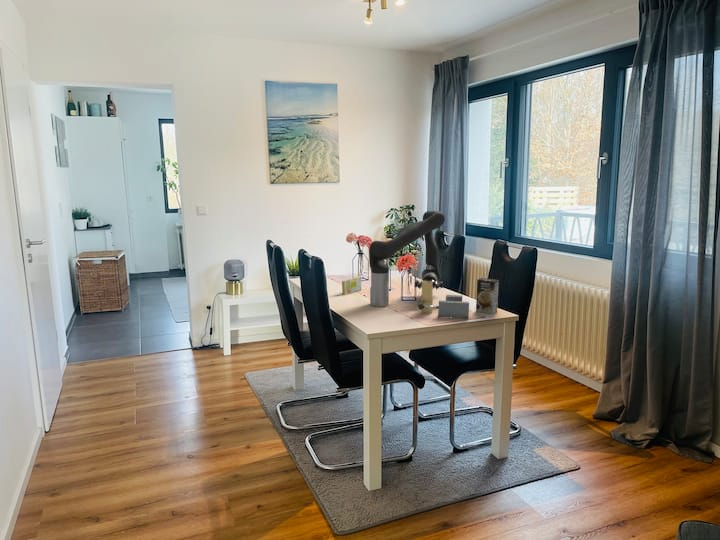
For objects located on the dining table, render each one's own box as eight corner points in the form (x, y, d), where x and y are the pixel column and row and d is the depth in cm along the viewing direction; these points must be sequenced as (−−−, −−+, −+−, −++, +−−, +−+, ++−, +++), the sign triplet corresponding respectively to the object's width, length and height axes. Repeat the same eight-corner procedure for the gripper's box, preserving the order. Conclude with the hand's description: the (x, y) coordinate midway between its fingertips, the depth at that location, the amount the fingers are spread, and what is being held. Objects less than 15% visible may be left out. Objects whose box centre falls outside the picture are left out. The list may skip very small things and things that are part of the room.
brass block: (421, 313, 263) (421, 282, 261) (422, 310, 268) (422, 280, 265) (431, 313, 262) (432, 283, 260) (432, 310, 267) (432, 281, 265)
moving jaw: (445, 311, 266) (445, 296, 264) (445, 309, 270) (446, 294, 268) (461, 312, 264) (462, 297, 263) (461, 310, 268) (462, 295, 267)
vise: (417, 316, 256) (417, 301, 255) (419, 309, 271) (419, 294, 269) (468, 318, 252) (469, 303, 251) (468, 311, 266) (468, 296, 265)
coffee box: (475, 311, 266) (476, 279, 263) (480, 309, 271) (481, 277, 268) (493, 314, 261) (494, 281, 258) (497, 311, 266) (499, 279, 263)
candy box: (358, 290, 317) (358, 276, 316) (361, 290, 316) (361, 276, 315) (341, 295, 304) (341, 280, 303) (344, 295, 303) (344, 281, 302)
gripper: (416, 273, 287) (414, 279, 271) (443, 274, 284) (442, 280, 269) (416, 287, 288) (413, 293, 272) (443, 288, 286) (442, 294, 270)
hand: (428, 287), depth 270 cm, fingers open, 8 cm apart
